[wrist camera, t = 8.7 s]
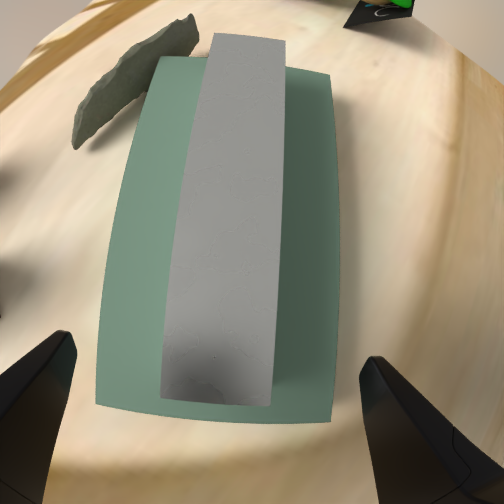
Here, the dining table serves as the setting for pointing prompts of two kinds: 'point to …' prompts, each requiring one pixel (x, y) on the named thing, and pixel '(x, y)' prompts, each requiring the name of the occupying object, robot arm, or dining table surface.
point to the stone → (131, 77)
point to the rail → (229, 231)
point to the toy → (379, 11)
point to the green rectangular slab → (161, 243)
